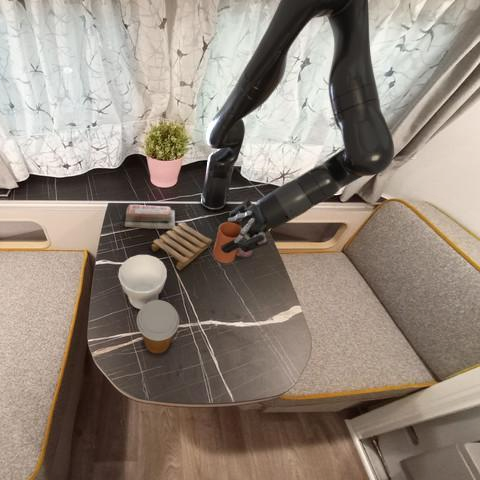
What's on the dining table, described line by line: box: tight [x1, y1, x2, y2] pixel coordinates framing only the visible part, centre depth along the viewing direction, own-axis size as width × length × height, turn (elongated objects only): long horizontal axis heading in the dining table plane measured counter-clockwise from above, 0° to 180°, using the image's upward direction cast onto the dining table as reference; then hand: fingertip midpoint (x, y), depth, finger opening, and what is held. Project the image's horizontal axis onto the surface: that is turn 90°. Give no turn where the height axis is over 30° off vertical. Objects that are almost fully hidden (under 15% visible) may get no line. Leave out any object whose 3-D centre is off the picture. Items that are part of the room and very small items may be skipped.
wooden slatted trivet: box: [151, 221, 213, 271], centre depth 90 cm, size 16×13×3 cm
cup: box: [117, 254, 168, 310], centre depth 73 cm, size 12×12×11 cm
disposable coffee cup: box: [136, 299, 180, 354], centre depth 64 cm, size 10×10×12 cm
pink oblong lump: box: [236, 248, 253, 258], centre depth 88 cm, size 10×5×7 cm, turn 47°
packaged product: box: [124, 204, 176, 230], centre depth 99 cm, size 18×5×10 cm
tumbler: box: [212, 221, 243, 264], centre depth 69 cm, size 6×6×9 cm
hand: (221, 240), depth 68 cm, fingers closed on tumbler, 6 cm apart
